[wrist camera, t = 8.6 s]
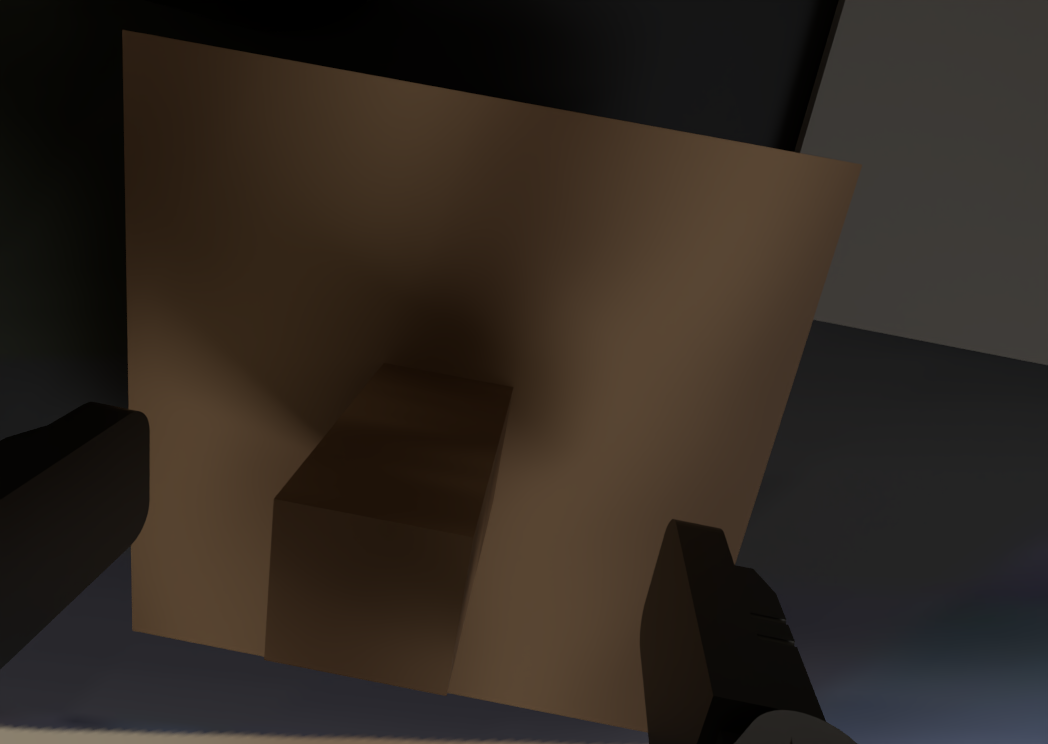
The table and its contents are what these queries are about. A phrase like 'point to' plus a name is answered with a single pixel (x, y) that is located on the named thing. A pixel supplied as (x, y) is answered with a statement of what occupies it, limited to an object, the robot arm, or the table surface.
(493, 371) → the lid
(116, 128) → the table surface
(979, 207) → the mat
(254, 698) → the table surface
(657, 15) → the table surface
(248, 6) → the supplement bottle
